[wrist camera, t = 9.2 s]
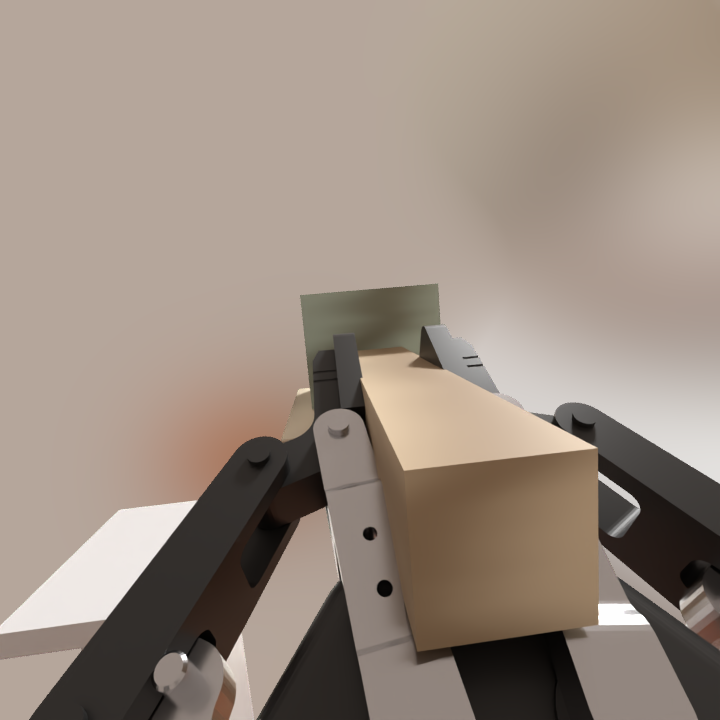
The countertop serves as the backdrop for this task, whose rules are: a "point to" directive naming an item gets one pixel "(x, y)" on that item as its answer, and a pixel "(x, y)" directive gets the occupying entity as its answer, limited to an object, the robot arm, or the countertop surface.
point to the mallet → (466, 482)
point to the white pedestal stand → (103, 592)
